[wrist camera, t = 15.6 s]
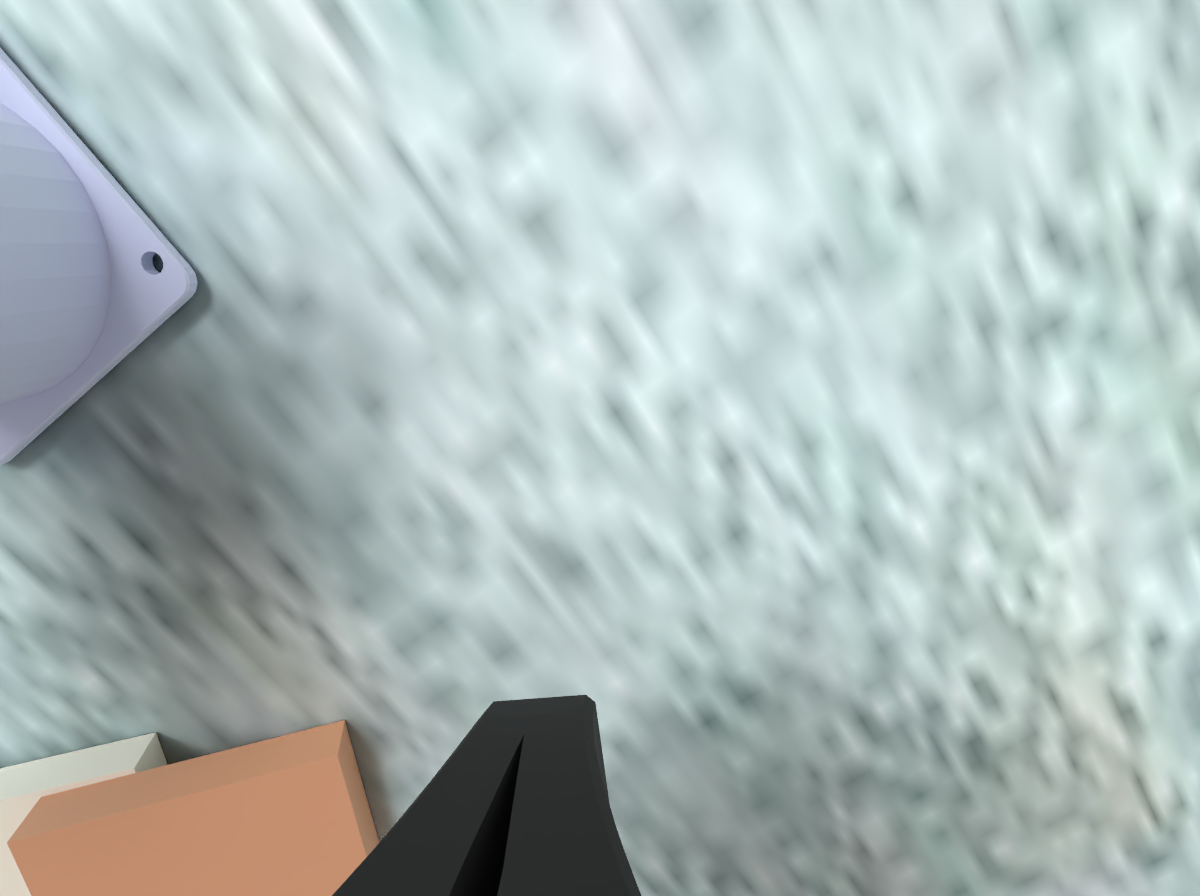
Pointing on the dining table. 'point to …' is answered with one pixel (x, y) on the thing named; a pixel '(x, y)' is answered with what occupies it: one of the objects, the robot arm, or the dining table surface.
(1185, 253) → the dining table surface
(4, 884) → the ivory domino
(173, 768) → the rust domino
